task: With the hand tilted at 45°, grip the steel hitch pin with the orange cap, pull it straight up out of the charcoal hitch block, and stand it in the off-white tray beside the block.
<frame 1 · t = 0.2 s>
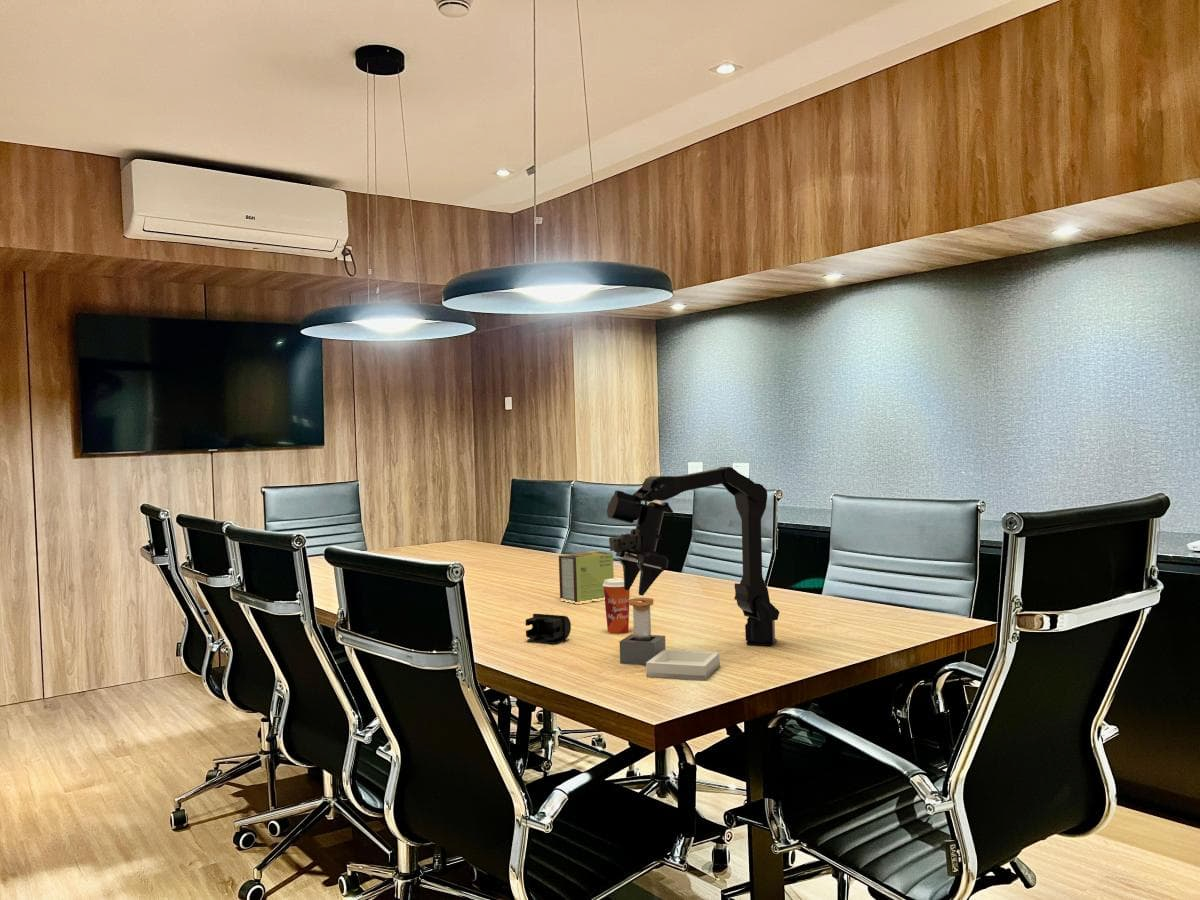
hand: (633, 592, 208), 15 cm above the table, tool tilted 15°, fingers open, 9 cm apart
end cap: (548, 641, 230), on the table
hitch block: (643, 660, 205), on the table
hitch pin: (642, 629, 205), in the hitch block
tray: (683, 671, 194), on the table
paper cup: (618, 632, 239), on the table
protein box: (587, 601, 293), on the table
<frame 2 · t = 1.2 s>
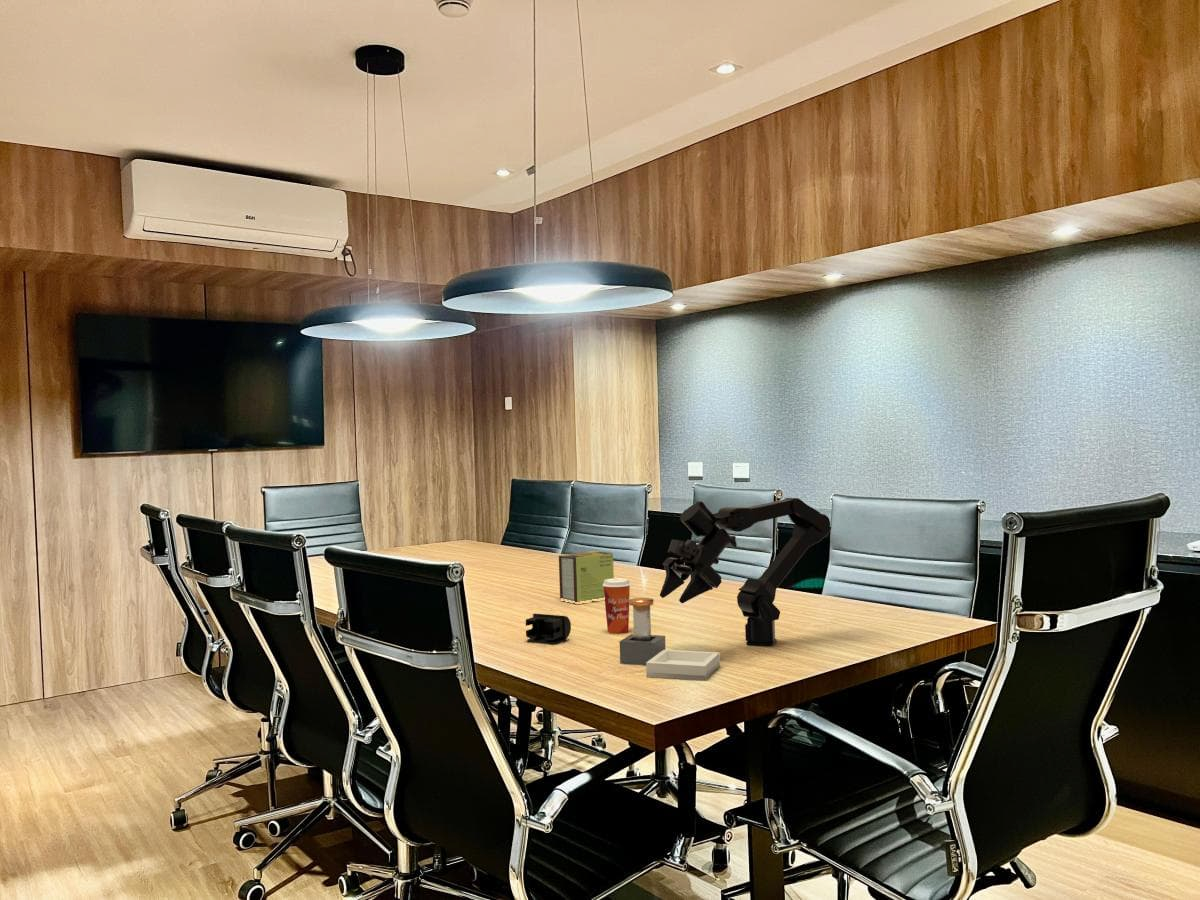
hand: (670, 599, 209), 13 cm above the table, tool tilted 45°, fingers open, 9 cm apart
nothing on the table moved.
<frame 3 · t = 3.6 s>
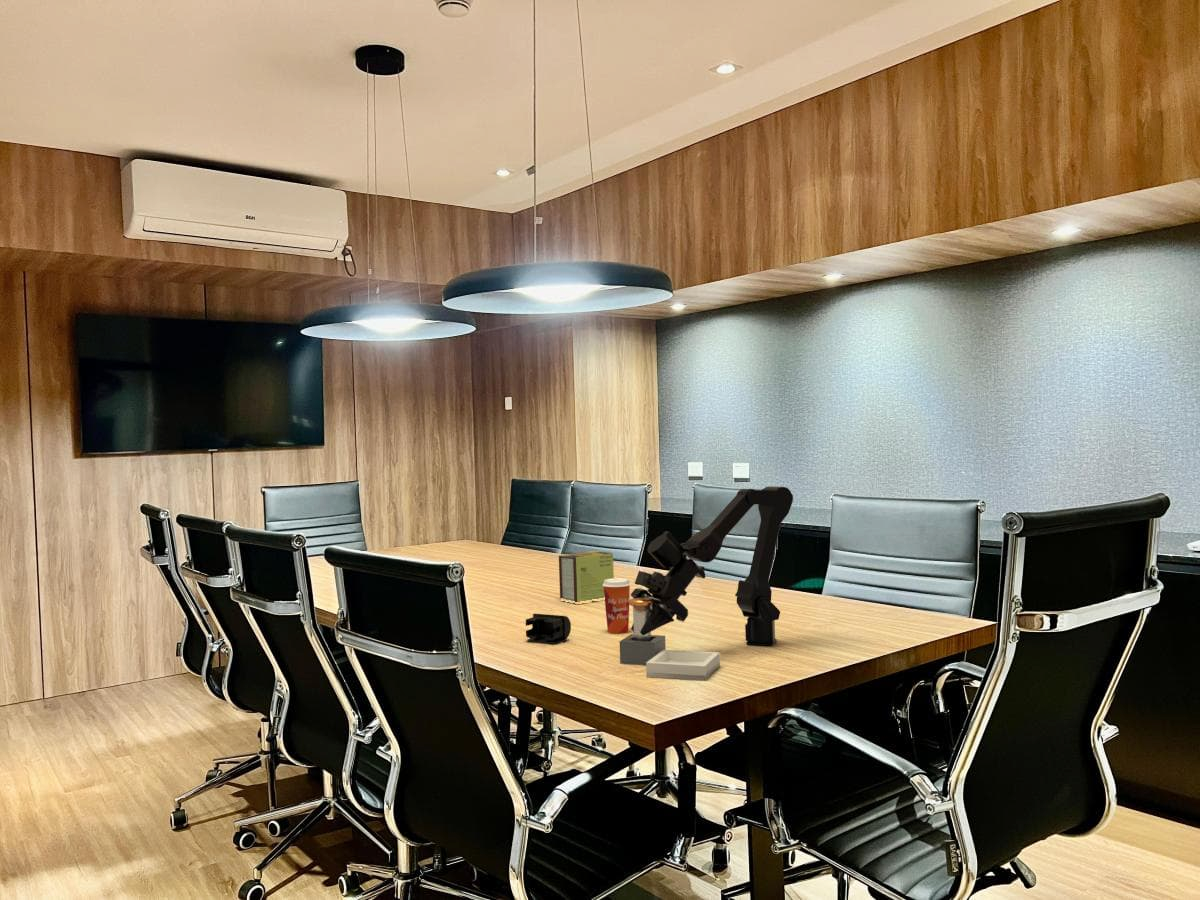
hand: (637, 632, 205), 7 cm above the table, tool tilted 45°, fingers closed on hitch pin, 4 cm apart
hitch pin: (642, 629, 205), in the hitch block, touching gripper
everything else where it was.
when the fingers open (8 cm above the table, at t = 8.3 s): hitch pin stays where it is, resting on tray.
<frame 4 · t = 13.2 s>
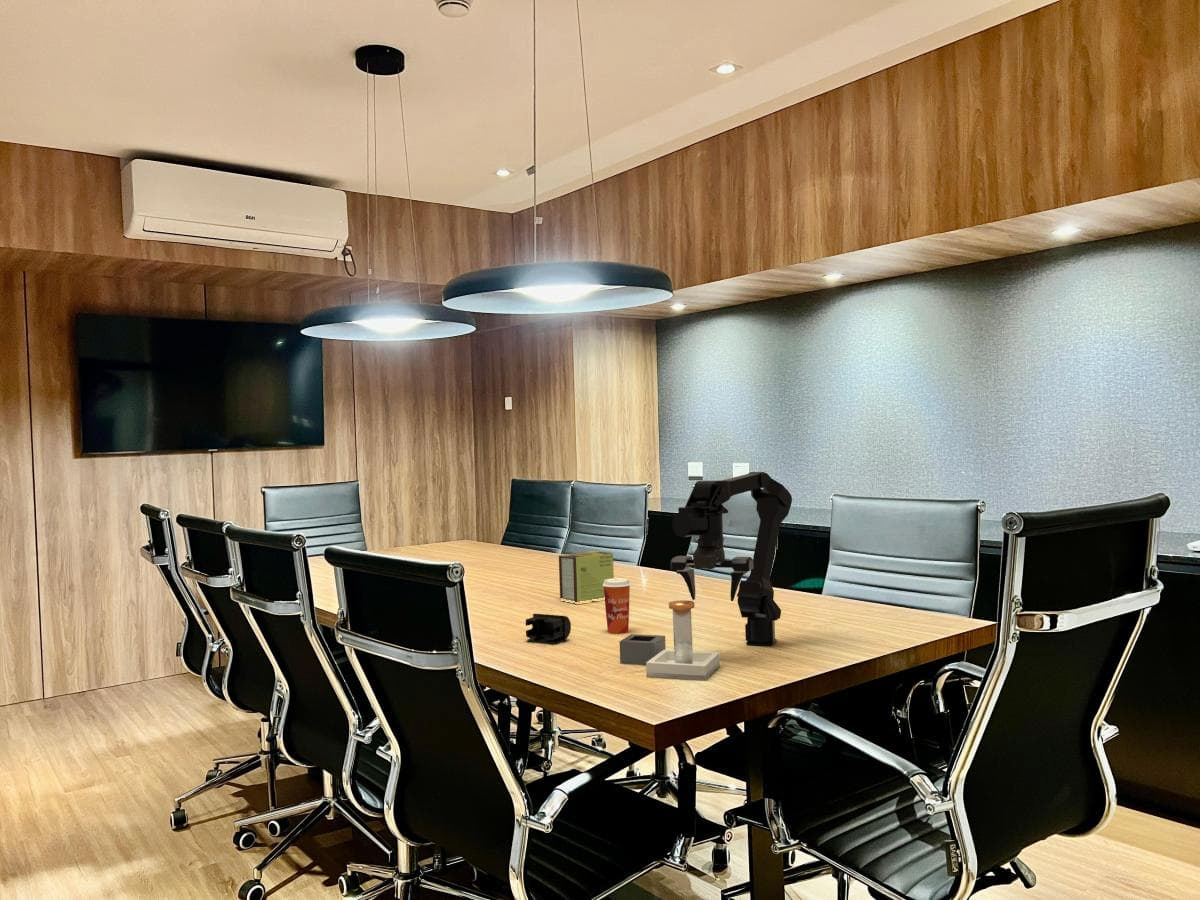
hand: (712, 600, 207), 13 cm above the table, tool pointing down, fingers open, 9 cm apart
hitch pin: (682, 634, 194), in the tray, point 8 cm above the table
everything else where it was.
at the end: hitch pin inside the target area on the tray (0.1 cm from its centre), point 8.0 cm above the tray's base; the gripper is holding nothing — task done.
